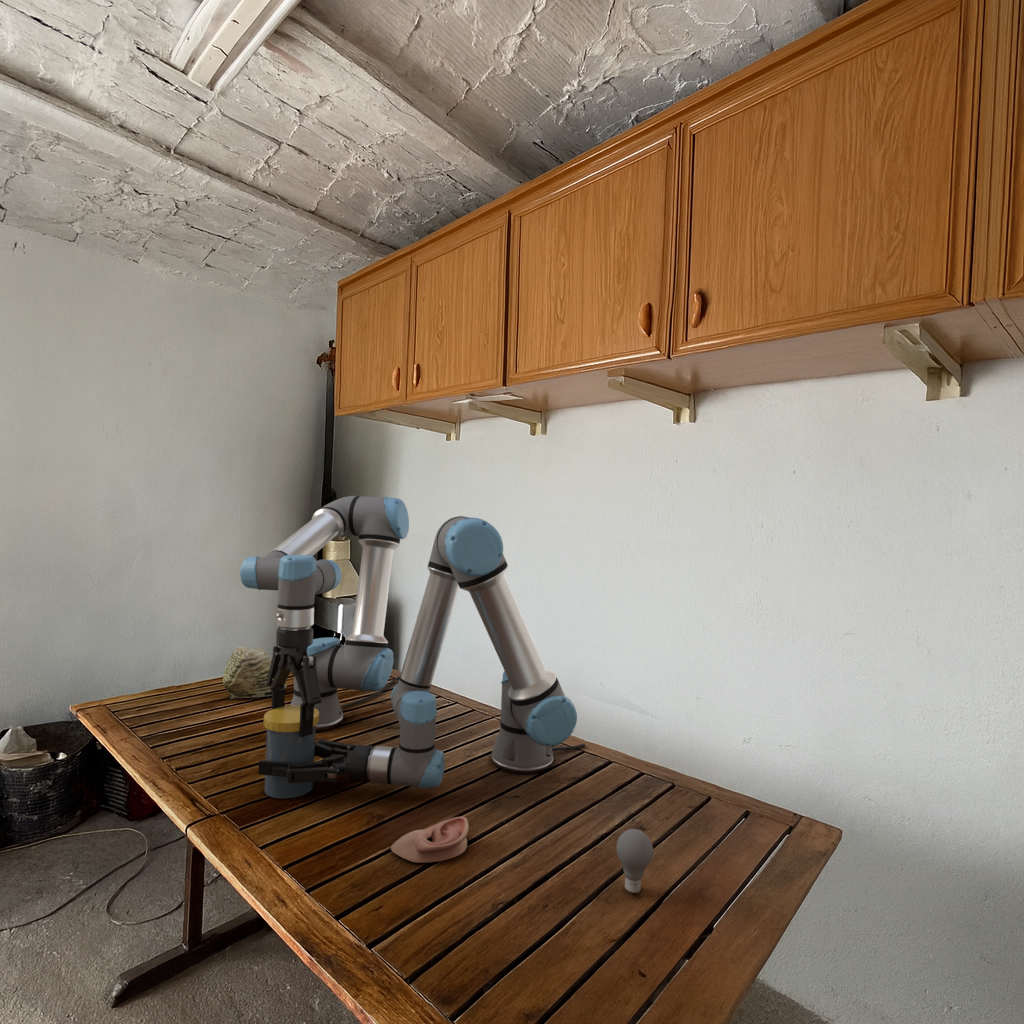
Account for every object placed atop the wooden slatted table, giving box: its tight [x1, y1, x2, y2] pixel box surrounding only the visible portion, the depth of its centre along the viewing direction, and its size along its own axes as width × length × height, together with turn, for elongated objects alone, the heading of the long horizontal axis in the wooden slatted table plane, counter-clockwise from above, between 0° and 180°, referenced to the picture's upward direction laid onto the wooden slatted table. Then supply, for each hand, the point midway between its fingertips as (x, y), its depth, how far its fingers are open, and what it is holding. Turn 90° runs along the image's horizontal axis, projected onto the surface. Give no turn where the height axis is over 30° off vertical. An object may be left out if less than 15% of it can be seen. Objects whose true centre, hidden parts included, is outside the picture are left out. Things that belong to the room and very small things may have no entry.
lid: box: [262, 705, 319, 732], centre depth 137 cm, size 11×11×2 cm
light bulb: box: [615, 828, 654, 894], centre depth 106 cm, size 6×6×10 cm
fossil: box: [222, 646, 288, 699], centre depth 198 cm, size 9×18×15 cm, turn 132°
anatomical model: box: [390, 816, 469, 864], centre depth 116 cm, size 13×4×12 cm
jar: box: [263, 725, 317, 799], centre depth 137 cm, size 10×10×16 cm
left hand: (291, 727), depth 137 cm, fingers closed on lid, 11 cm apart
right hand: (271, 756), depth 137 cm, fingers closed on jar, 10 cm apart
